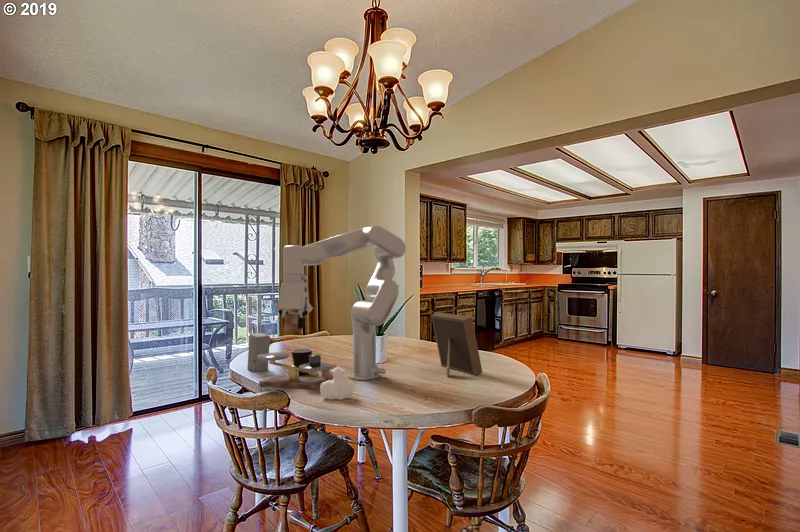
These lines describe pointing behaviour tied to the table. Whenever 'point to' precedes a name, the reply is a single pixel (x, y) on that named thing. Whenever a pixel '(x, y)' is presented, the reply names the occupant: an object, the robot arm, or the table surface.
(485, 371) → the table surface
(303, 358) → the coffee mug
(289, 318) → the walnut block
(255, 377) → the table surface
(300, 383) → the balance base
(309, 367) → the balance
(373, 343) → the robot arm
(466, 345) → the photo frame
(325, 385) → the bust
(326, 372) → the peach rounded egg
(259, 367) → the skincare box
